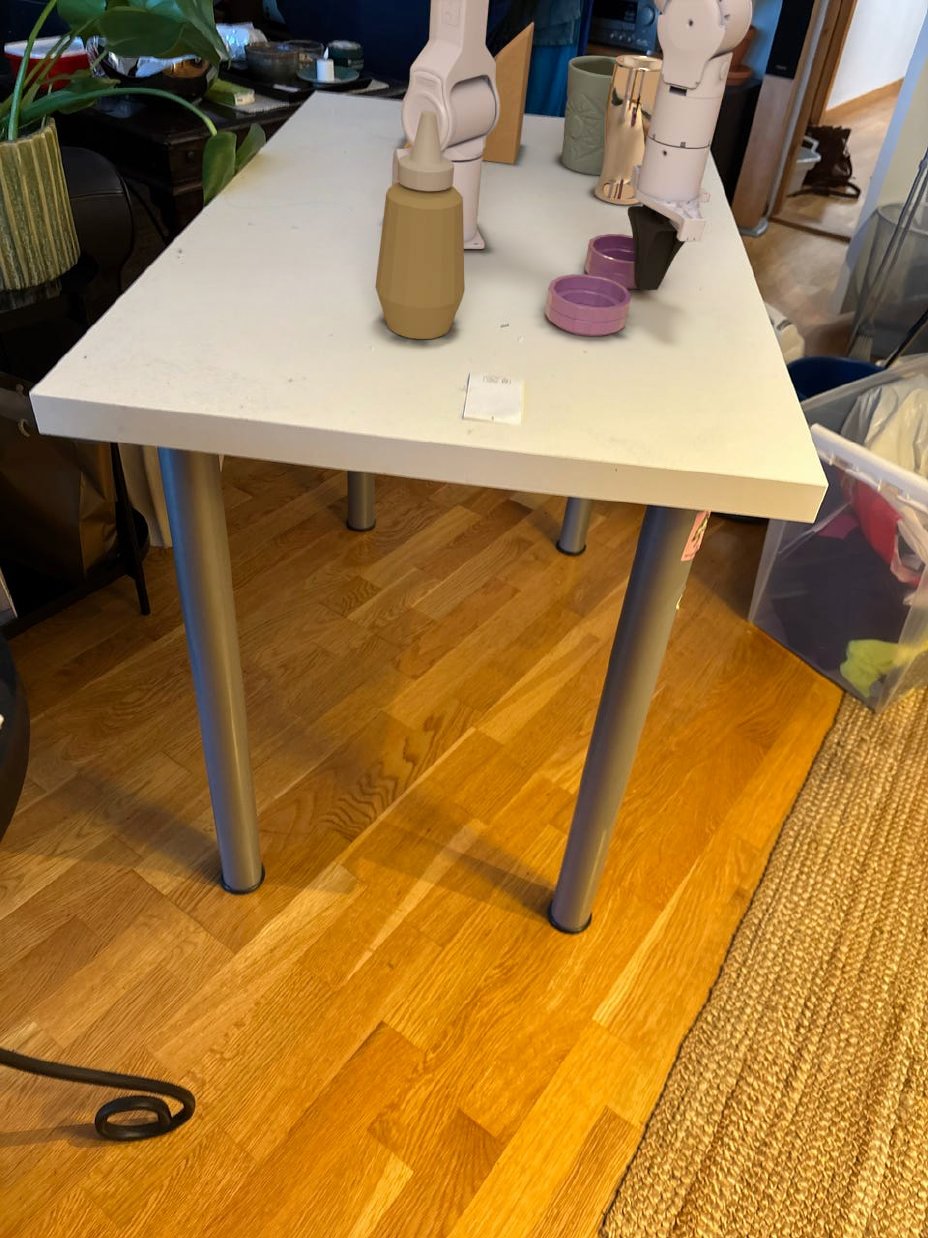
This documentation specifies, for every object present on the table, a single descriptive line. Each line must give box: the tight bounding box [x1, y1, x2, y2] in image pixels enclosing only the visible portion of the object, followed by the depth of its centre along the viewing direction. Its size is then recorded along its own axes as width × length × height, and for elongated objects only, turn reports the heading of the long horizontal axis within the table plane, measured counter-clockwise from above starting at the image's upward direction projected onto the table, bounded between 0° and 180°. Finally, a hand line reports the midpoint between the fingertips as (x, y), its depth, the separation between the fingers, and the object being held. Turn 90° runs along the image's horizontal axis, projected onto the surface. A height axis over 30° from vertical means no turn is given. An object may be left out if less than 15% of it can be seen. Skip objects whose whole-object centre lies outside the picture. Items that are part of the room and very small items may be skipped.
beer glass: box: [594, 54, 663, 206], centre depth 111 cm, size 7×7×15 cm
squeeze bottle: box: [374, 111, 466, 340], centre depth 78 cm, size 8×8×18 cm
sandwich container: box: [402, 21, 535, 165], centre depth 120 cm, size 9×15×15 cm, turn 81°
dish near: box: [544, 273, 632, 337], centre depth 87 cm, size 8×8×3 cm
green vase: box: [561, 55, 617, 176], centre depth 120 cm, size 10×10×12 cm
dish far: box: [584, 233, 639, 290], centre depth 96 cm, size 8×8×3 cm
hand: (646, 286), depth 91 cm, fingers closed
